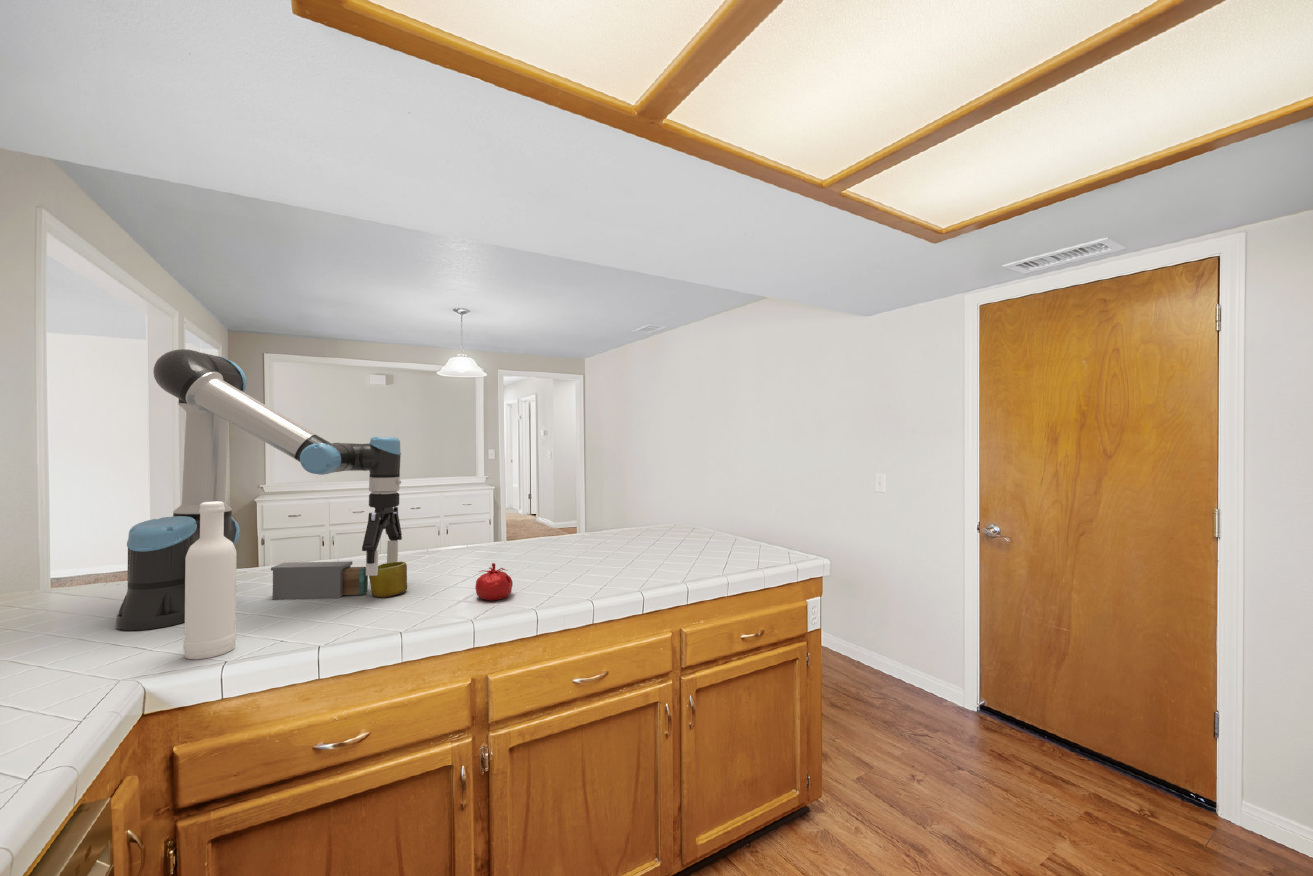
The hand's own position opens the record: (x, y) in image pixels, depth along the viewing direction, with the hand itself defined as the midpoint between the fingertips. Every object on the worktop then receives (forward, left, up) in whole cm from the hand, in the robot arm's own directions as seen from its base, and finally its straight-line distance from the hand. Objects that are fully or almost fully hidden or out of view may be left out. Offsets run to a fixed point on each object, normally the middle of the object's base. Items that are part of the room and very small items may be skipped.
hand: (382, 569), depth 144 cm
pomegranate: (-6, -31, -7) cm, 33 cm away
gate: (0, +13, -7) cm, 14 cm away
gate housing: (0, +18, -7) cm, 19 cm away
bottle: (-38, +18, -7) cm, 43 cm away
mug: (+1, 0, -7) cm, 7 cm away
